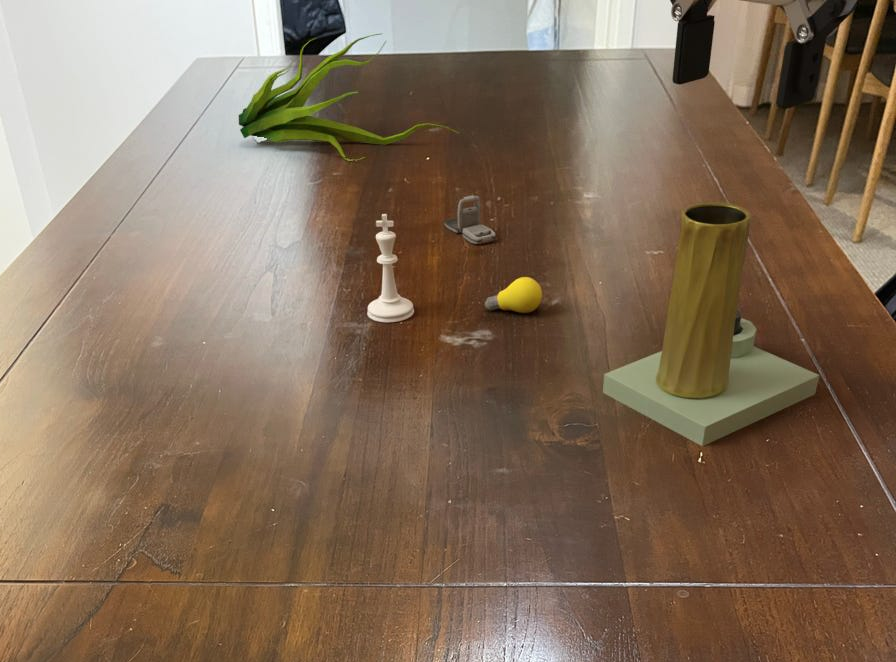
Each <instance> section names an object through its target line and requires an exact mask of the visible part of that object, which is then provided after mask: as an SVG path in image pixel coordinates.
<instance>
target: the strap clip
mask: <svg viewBox="0 0 896 662" xmlns="http://www.w3.org/2000/svg"><path fill="white" fill-rule="evenodd" d="M473 201H476V205H474V206H468V207H464V208H463V204H464V203H469V202H473ZM457 204H458V205H457V210H456V211H457V212H456V213H457V215H456V216H457V217H455V218H451V219H447V220H444V221H443V225H444V226H445V227H446V229H447V230H450V231H452V232H454V233H455V234H462V238H463V239H465V240H466V241H468V242H469V243H471V244H473V245H480V244H485V243H490V242H493V241H495V240H496V238H497V235H496V232H495V231H494V230H493V229H491V228H490V227H488V226H486V225H483V224H480V219H481V211H482V203H481V198H480V197H479V195H474V194H472V195H468V196H464V197H462V198H460V199H459V201H458V203H457Z"/></svg>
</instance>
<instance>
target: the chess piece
mask: <svg viewBox="0 0 896 662" xmlns="http://www.w3.org/2000/svg"><path fill="white" fill-rule="evenodd" d="M394 225H395V223H394V220H388V214H387V213H382V214H381V220H376V221H375V227H381V228H382V231H379V232H378V233H377V234H376V235H375V240H376V243H377V244H378V247H379V250H380V252H381V254H380V255H378V256H377V257H376V263H377V264H380V265H382V279H381V280H382V281H381V295H379V296H378V298H376V299H374V300H373V301H371V302H369V304H368V305H367V312H366V313H367V317H368V318H369V319H370V320H373V321H374V322H378V323H399V322H402V321H405V320H408V319H409V318H411V317H412V316H413V315H414V314H415V309H414V304H413V302H412V301H411V300H409V299H408V298H406V297H402V296H401V294H399V293H398V290H397V284H396V279H395V273H394V266H393V264H395V263H397V262H398V261H399V259H398V256H397V255H396V254H393V250H394V245H395V242H396V237H397V236H396V233H395V232H394V231H390V230H389V228H390V227H392V228H393V227H394ZM388 227H389V228H388Z"/></svg>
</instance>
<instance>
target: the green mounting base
mask: <svg viewBox="0 0 896 662" xmlns="http://www.w3.org/2000/svg"><path fill="white" fill-rule="evenodd" d="M757 331H758V330H757V327H756V326H755V324H753V322H752V321H750V320H747V319H745V318H742V317H741V322H740V327H739V333H738V334H737V335H734V336H733V345H732V352H731V360H730V368H729V384H728V386H727V388H726V389H725V390H724V391H723V392H721V393H720V394H718V395H715V396H712V397H707V398H695V399H693V398H684V397H678V396H675V395H672V394H669V393H667V392H665V391H664V390H662V389H661V388H660V387H659V385H658V384H657V382H656V376H657V373H658V371H659V365H660V360H661V354H662V350H661V351H657V352H656V353H653V354H651V355H648V356H646V357H643V358H641V359H638V360H636V361H633V362H631V363H628V364H626V365H623V366H621V367H618V368H616V369H613V370H611V371H608V372H605V373H604V374H603V385H602V393H603V394H605V395H606V396H608V397H610V398H611V399H614V400H616V401H618V402H619V403H621V404H623V405H625V406H626V407H628V408H630V409H633V410H634V411H636V412H637V413H640V414H641V415H643V416H645V417H646V418H648V419H651V420H653V421H654V422H656V423H658V424H660V425H662V426H663V427H665V428H667V429H669V430H671V431H673V432H675V433H676V434H679V435H680V436H682V437H683V438H685V439H687V440H690V441H692V442H693V443H695V444H697V445H699V446H701V447H704V446H706V445H709V444H710V443H713V442H715V441H717V440H719V439H722V438H724V437H726V436H728V435H730V434H732V433H734V432H737V431H738V430H740V429H743V428H745V427H747V426H750V425H752V424H754V423H757V422H759V421H760V420H762V419H765V418H767V417H769V416H771V415H774V414H775V413H778V412H780V411H782V410H784V409H786V408H788V407H791V406H793V405H795V404H797V403H799V402H801V401H804V400H806V399H808V398H811V397H812V396H815V395H816V392H817V387H818V384H819V379H820V374H818V373H815V372H814V371H811V370H809V369H808V368H807V369H806V368H804V367H803V366H800V365H797V364H795V363H793V362H791V361H789V360H786V359H784V358H782V357H780V356H777V355H774V354H772V353H771V352H768V351H765V350H763V349H761V348H759V347H756V346H755V341H756V336H757Z"/></svg>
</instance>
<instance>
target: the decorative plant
mask: <svg viewBox="0 0 896 662" xmlns="http://www.w3.org/2000/svg"><path fill="white" fill-rule="evenodd" d="M380 35H383V33H376V34H371V35H370V34H369V35H367V36H363V37H360V38H357V39H355V40H353V41H352V42H350V43H349V44H347V46H346V47H344V48H343V49H342V50H339V51H338V52H335V53H334V54H332V55H329V56H327V57H326V58H325V59H324V60H323V61H321V63H319V64H318V65H317V66H316V67H315V68H314V69H312V70H311V71H310V72H309V73H308V75H307V76H306V77H305V78H304V79H303V81H302V82H300V81H301V80H302V77H303V63H304V62H303V53H304V49H305V47H306V46H307V45H308V44H309V43H310V42H311V41H314V40H315V39H317V37H314V38H312V39H310V40H308V41H307V43H305V44H304V45H303V46H302V47H301V49H300V52H299V53H300V54H299V64H298V68H297V73H296V75H295V76H294V77H293V78H291V79H290V80H289V81H287V83H285V84H282V85H280V86H278V87H275V88H273V86H274V84H275V82H276V81H277V79H278V78H279V77H281V76H284V75H285V74H287V73H288V72H289V71H290V70H291V68H290V67H291V66H292V64H293V62H294V60H292V61H291V63H290V64H288V66H287V67H286V68H283V69H281V70H278V71H275V72H274V73H271V74H270V75H269V76H268V77H267V78H266V79H265V80H264V82H263V83H262V85H261V87H260V89H258V91H257V92H256V93H254V94H253V96H252V98H251V100H250V102H249V103H248V106H246V107H244V108H243V109H242V112H241V113H240V114H238V125H239V126H240V127H241V128H240V129H239V131H240V133H241V135H242V137H243V139H246V138H248V137H250V136H251V137H253V136H257V137H264V138H267V139H269V140H268V141H271V142H273V143H277V142H279V143H283V142H289V141H317V142H328V143H330V144H331V145H332V146H333V147H335V148H336V149H337V151H338V153H339V154H340V156H341V157H342V156H343V157H347V156H346V155H345V153H344V151H343V148H342V146H341V145H340V143H339V142H338V140H337V139H336V138H338V139H342V140H346V141H350V142H355V140H356V141H366V142H361V143H364V144H373V145H382V146H386V145H389V144H392V143H395V142H398V141H401V140H404V139H406V138H407V137H409V136H410V135H412V134H413V133H414V132H415V131H417V130H418V129H419V128H424V127H427V126H428V127H437V128H445V129H447V130H450V131H452V132H454V133H456V134H460V132H458V131H457V130H454V129H452V128H450V127H448V126H445V125H441V124H434V123H428V122H426V123H420V124H419V123H418V124H416V125H414V126H412V127H411V128H409V129H407V130H405V131H404V132H401V133H397V134H393V135H390V136H386V137H383V136H380V135H378V134H375V133H373V132H370V131H367V130H365V129H362V128H361V127H360V128H359V127H358V126H353V125H349V124H345V123H342V122H338V121H333V120H331V119H326V118H321V117H318V116H313V115H314V114H316V113H317V112H319V111H321V110H322V109H325V108H327V107H328V106H330V105H332V104H334V103H336V102H338V101H340V100H342V99H343V98H345V97H347V96H349V95H355V94H358V93H359V91H349V92H346V93H344V94H342V95H339V96H337V97H334V98H331V99H328V100H326V101H322V102H319V103H316V104H313V105H307V106H305V104H306V103H307V102H308V100H309V98H310V96H312V94H313V92H314V90H315V89H316V88H317V87H318V85H319V84H320V83H321V81H322V80H323V79H324V78H325V77H326V76H327V75H328V73H329V72H330V71H331V70H332V69H333V68H337V67H341V66H345V65H349V66H359V67H360V66H363V65H366V64H369V63H370V62H371V61H372V60H373V59H374V58H375V57H377V55H378V54H380V52H381V51H382V49H383V47H384V46H385V44H386V43H387V40H385V41H384V43H383V45H382V46H381V47H380V49H379V51H378V52H376V53H375V54H374V55H373V56H371V58H370V59H368V60H366V61H361V62H359V61H356V60H351V59H346V58H345V59H341V60H339V59H340V58H342V57H343V56H345V55H346V54H347V53H348V52H349V50H351V49H352V47H353V46H354V45H355V44H356V43H358V42H359V41H362V40H365V39H367V38H369V37H373V36H380ZM285 71H286V72H285ZM283 72H284V73H283ZM299 82H300V84H299V85H298V86H297V87H296V88H295V89H294V87H295V86H296V85H297V84H298V83H299ZM367 141H369V142H367ZM370 141H371V142H370ZM374 142H380V143H374ZM343 157H342V158H343ZM365 158H366V157H365V156H364V157H360V158H358V159H351V160H350V158H348V157H347V159H346V158H343V159H344V160H345V161H347V162H357V161H360V160H363V159H365ZM353 160H355V161H353Z"/></svg>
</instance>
